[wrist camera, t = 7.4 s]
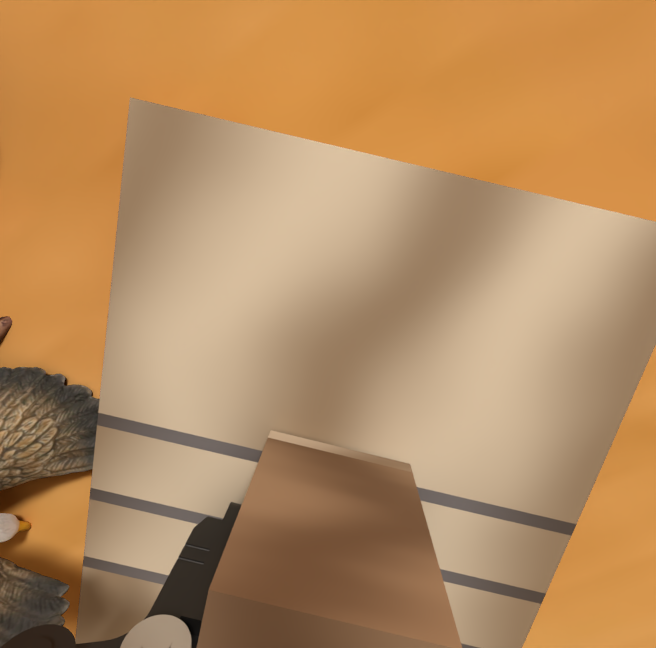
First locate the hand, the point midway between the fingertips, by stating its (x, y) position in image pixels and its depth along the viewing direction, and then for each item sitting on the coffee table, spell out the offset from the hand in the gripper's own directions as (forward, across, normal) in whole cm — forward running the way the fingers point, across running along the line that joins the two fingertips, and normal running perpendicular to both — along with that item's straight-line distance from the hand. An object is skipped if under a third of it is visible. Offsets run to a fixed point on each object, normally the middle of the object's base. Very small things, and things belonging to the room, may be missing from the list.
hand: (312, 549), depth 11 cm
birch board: (+1, 0, 0) cm, 1 cm away
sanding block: (0, 0, 0) cm, 0 cm away
